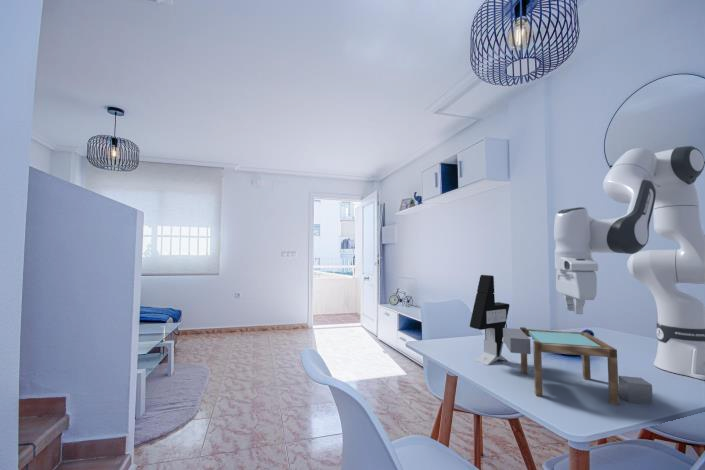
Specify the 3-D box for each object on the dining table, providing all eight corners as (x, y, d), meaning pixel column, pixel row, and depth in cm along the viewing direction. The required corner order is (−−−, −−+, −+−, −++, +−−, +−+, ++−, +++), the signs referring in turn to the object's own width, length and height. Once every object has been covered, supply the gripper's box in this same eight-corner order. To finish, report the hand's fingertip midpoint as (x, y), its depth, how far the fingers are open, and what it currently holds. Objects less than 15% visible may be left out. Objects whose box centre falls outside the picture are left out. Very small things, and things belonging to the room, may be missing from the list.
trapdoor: (580, 345, 98) (580, 332, 99) (601, 360, 85) (601, 344, 85) (502, 340, 104) (502, 327, 105) (511, 353, 91) (510, 338, 91)
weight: (641, 397, 86) (640, 377, 87) (652, 405, 82) (651, 384, 82) (619, 394, 88) (618, 375, 88) (628, 402, 83) (628, 382, 83)
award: (481, 366, 109) (479, 276, 111) (469, 361, 114) (467, 275, 116) (511, 359, 116) (509, 274, 118) (499, 355, 121) (497, 274, 123)
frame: (588, 377, 99) (586, 331, 100) (619, 404, 82) (616, 347, 82) (521, 371, 104) (520, 327, 105) (536, 395, 87) (534, 342, 88)
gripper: (549, 262, 105) (550, 306, 104) (573, 264, 85) (574, 317, 84) (572, 263, 103) (573, 307, 102) (601, 264, 84) (603, 319, 83)
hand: (574, 312), depth 93 cm, fingers open, 5 cm apart
